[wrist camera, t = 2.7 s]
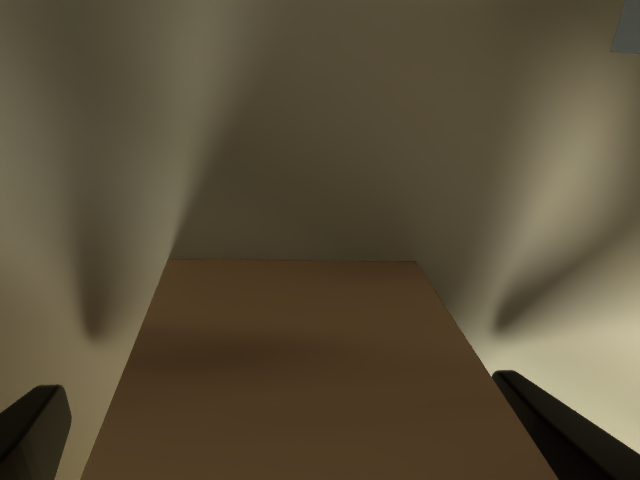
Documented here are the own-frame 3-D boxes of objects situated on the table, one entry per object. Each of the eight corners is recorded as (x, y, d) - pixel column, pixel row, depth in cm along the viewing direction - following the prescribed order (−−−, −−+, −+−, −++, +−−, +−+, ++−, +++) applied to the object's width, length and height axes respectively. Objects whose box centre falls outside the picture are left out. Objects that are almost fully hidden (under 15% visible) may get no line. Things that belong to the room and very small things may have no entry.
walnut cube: (380, 424, 11) (458, 685, 7) (184, 433, 10) (128, 735, 6) (414, 259, 9) (564, 489, 4) (169, 257, 8) (60, 529, 4)
